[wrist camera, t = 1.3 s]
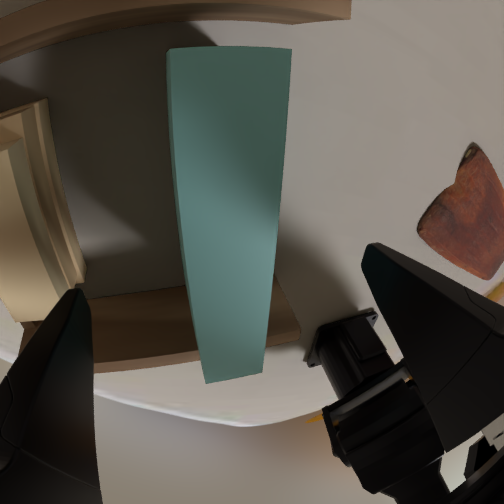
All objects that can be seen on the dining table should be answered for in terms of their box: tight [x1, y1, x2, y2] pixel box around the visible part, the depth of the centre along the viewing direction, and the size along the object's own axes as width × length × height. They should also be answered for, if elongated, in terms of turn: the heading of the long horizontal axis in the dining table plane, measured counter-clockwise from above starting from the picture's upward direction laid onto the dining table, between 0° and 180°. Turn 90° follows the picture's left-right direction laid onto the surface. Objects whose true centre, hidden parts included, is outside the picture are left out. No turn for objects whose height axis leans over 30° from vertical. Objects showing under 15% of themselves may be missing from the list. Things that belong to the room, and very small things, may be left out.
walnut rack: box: [0, 0, 351, 373], centre depth 12 cm, size 17×17×5 cm
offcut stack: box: [0, 98, 87, 322], centre depth 11 cm, size 10×4×4 cm, turn 177°
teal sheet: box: [166, 46, 292, 384], centre depth 12 cm, size 12×2×8 cm, turn 178°
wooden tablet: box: [418, 147, 504, 280], centre depth 27 cm, size 27×10×2 cm, turn 59°
